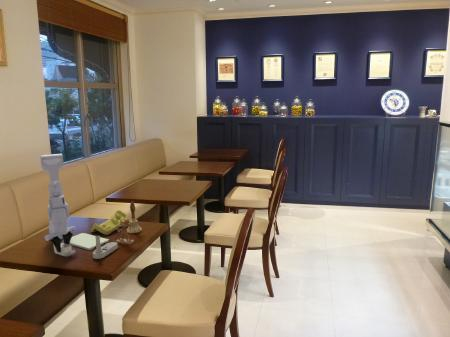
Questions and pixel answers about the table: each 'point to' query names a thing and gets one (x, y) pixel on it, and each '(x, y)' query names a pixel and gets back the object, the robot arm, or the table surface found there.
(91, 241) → the sage board
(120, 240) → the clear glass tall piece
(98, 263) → the table surface
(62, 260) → the table surface
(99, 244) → the electronic device
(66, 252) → the grey connector
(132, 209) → the hand bell
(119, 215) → the plastic component
